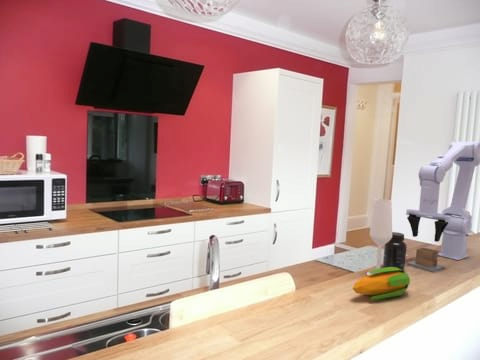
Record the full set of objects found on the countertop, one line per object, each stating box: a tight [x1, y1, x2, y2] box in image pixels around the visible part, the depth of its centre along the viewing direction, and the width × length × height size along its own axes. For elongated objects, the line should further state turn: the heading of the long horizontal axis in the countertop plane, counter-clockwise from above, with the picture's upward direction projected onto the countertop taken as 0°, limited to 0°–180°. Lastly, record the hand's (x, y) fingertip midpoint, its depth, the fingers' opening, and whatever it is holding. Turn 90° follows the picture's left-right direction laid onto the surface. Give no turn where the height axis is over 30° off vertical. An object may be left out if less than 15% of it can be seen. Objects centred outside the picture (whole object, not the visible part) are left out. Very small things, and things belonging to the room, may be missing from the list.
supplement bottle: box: [382, 231, 407, 271], centre depth 128 cm, size 7×7×12 cm
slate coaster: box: [406, 259, 446, 273], centre depth 131 cm, size 8×9×1 cm
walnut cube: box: [415, 247, 439, 268], centre depth 131 cm, size 5×5×5 cm
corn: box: [352, 267, 411, 301], centre depth 104 cm, size 7×8×20 cm
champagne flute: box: [366, 198, 393, 276], centre depth 119 cm, size 7×7×24 cm
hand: (425, 238), depth 133 cm, fingers open, 7 cm apart
